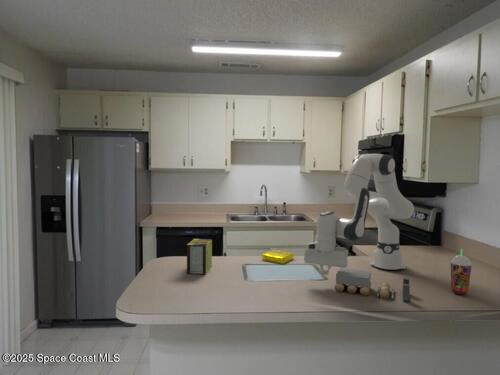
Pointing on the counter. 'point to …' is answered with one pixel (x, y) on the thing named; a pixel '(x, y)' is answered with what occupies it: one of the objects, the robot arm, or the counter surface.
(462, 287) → the smoothie
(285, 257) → the element tile
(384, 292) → the roller
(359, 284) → the slab
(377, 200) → the robot arm
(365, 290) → the roller bed
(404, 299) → the posts
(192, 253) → the protein box
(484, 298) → the counter surface
